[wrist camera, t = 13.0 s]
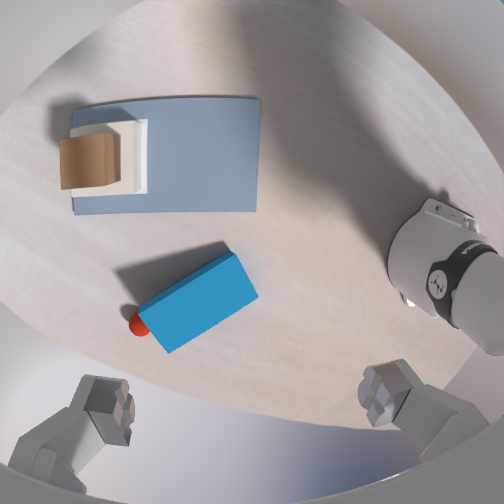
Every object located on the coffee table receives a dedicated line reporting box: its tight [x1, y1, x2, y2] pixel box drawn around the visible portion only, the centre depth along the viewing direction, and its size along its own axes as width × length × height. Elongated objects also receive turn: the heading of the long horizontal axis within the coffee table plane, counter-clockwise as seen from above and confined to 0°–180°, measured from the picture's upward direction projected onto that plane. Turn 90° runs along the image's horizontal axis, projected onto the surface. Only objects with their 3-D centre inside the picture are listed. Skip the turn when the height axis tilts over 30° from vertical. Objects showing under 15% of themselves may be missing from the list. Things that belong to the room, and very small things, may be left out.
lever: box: [129, 251, 259, 353], centre depth 38 cm, size 7×7×18 cm
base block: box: [70, 121, 143, 197], centre depth 29 cm, size 8×8×4 cm
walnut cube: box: [60, 133, 121, 190], centre depth 25 cm, size 5×5×5 cm
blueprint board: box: [72, 98, 261, 215], centre depth 32 cm, size 24×14×1 cm, turn 88°
